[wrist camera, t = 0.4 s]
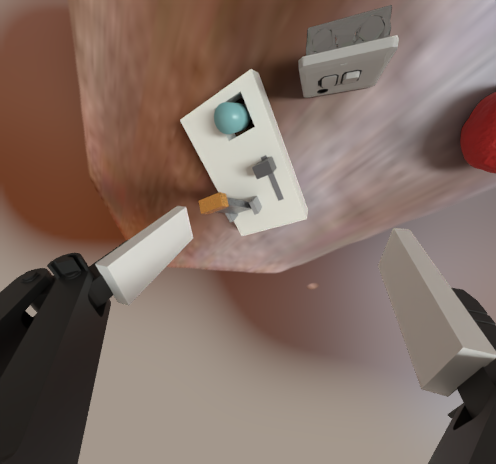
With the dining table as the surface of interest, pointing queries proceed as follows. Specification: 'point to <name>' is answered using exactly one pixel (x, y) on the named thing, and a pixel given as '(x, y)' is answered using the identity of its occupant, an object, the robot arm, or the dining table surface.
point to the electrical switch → (347, 53)
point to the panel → (248, 158)
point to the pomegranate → (481, 135)
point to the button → (231, 117)
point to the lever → (222, 204)
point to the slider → (264, 167)
